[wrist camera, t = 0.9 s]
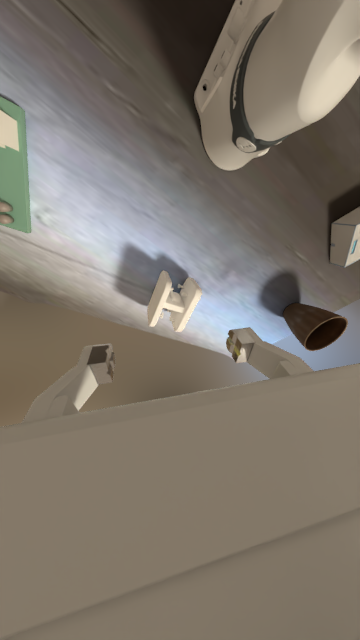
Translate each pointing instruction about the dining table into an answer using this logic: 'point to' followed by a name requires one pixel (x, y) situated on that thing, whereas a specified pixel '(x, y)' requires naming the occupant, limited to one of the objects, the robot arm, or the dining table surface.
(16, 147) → the plug
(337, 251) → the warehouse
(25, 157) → the board
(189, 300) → the cable organizer
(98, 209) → the dining table surface
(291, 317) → the plant pot
